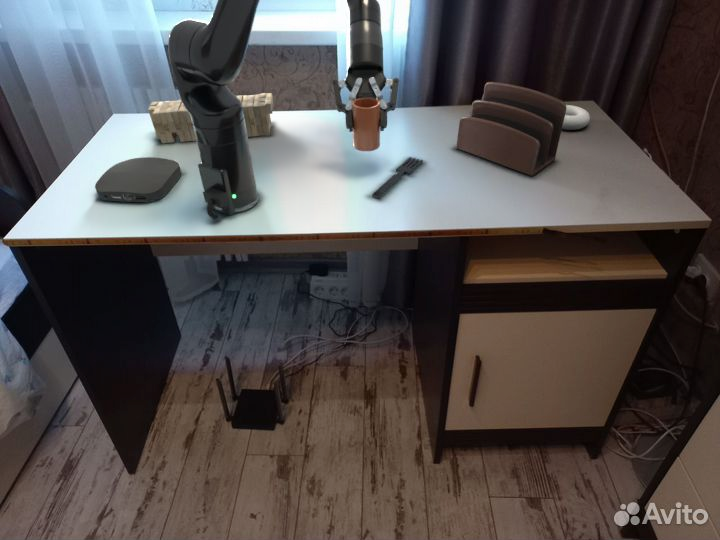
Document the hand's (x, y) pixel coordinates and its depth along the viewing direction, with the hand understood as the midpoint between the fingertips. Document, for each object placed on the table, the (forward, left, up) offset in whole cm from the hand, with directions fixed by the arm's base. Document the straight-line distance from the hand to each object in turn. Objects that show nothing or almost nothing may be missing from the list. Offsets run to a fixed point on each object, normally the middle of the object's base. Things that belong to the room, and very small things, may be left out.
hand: (366, 129), depth 103 cm
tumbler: (+1, +1, -4) cm, 5 cm away
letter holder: (+23, -23, -10) cm, 34 cm away
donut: (+46, -31, -10) cm, 56 cm away
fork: (+1, -7, -10) cm, 12 cm away
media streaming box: (-28, +39, -10) cm, 49 cm away
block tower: (-1, +43, -10) cm, 45 cm away
